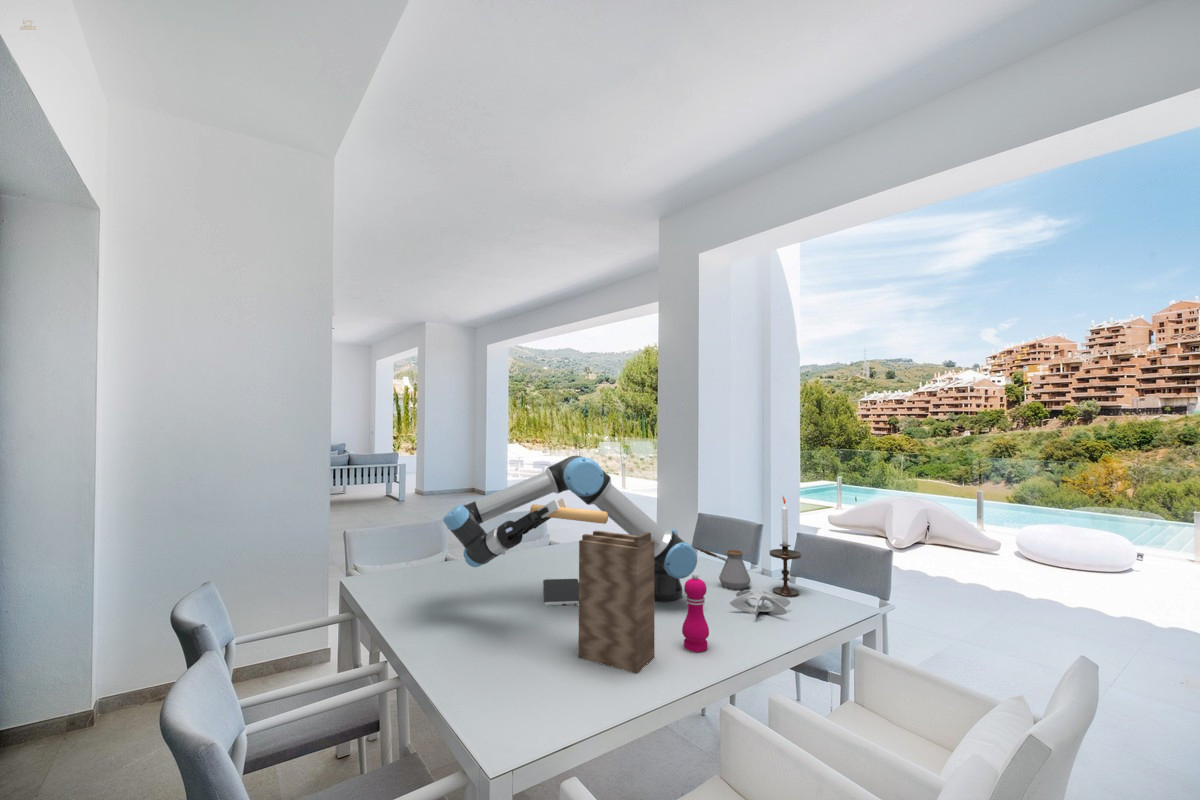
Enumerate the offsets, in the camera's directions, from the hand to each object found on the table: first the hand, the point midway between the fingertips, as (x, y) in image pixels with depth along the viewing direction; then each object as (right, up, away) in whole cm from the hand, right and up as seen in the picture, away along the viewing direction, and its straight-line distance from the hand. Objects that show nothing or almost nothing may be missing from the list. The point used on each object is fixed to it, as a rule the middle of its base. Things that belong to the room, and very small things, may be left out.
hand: (561, 503), depth 148 cm
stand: (+15, -38, -11) cm, 42 cm away
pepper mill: (+37, -39, -4) cm, 54 cm away
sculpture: (+63, -40, +23) cm, 78 cm away
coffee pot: (+57, -41, +49) cm, 86 cm away
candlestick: (+78, -41, +43) cm, 98 cm away
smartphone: (-3, -41, +42) cm, 59 cm away
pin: (+2, -4, -1) cm, 5 cm away
